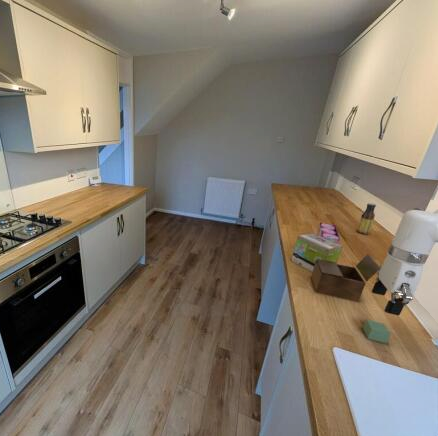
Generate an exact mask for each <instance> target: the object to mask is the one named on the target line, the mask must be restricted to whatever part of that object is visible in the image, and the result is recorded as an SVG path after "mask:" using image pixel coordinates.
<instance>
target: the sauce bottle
mask: <svg viewBox="0 0 438 436" xmlns="http://www.w3.org/2000/svg"><path fill="white" fill-rule="evenodd" d="M376 207H377V204H376V203H369V202H368V203H367V204H366V208H365V210H364V211H363V213H362V214H361V216H360V219H359V222H358V226H357V231H356V232H357V233H359V234H361V235H369V234H370V232H371V229H372V226H373V223H374V220H375V216H376V214H375V208H376Z"/></svg>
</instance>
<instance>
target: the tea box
mask: <svg viewBox="0 0 438 436" xmlns="http://www.w3.org/2000/svg"><path fill="white" fill-rule="evenodd" d="M342 250H343V245H341V244H340V243H339V244H337V243H334V242H332V241H329V240H327V239H325V238H322V237H320V236H317V235H316V234H315V233H312V232H311V233H305V234H300V235H297V238H296V240H295V245H294V248H293V252H292V257H291V261H292V262H293V263H295V264H297V265H299V266H300V267H302V268H304V269H306V270H308V271H309V272H311V273H312V272H313V269H314V265H315V262H316V260H317V259H321V260H326V261H331V262H336V264H338V262H339V258H340V256H341V252H342Z"/></svg>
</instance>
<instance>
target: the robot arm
mask: <svg viewBox="0 0 438 436" xmlns="http://www.w3.org/2000/svg"><path fill="white" fill-rule="evenodd" d="M436 243H438V209H436V210H435V211H433V212H432V211H427V210H420V209H410V210H408V211H407V210H406V212H405V213H404V214H403V215H402V218H401V220H400V222H399V224H398V227H397V230H396V232H395V234H394V236H393V239H392V241H391V243H390V245H389V248H388V250H387V253H386V257H385V259H384V261H383V263H382V264H381V265H379V267H380V269H379V271H378V272H377V277H376V278H375V282H374V284H373V287H372V289H371V293H372V294H375V295H380V296H385V295H386V294H387V291H389V293H390V299H389V300H387V303H386V305H385V308H384V310H383V311H384V312H385V313H387V314H391V315H394V316H400V315H401V313H402V311H403V309H404V307H405V306H407V305H408V304H409V303H410V302H411V301H413V299H414V297H413V296H414V295H415V293H416V291H417V289H418V286H419V284H420V281H421V279H422V275H423V272H424V265H425V264H426V262H427V260H428V258H429V256H430V254H431V253H432V250H433V249H434V246H435V244H436ZM397 296H401V297H398V298H397Z"/></svg>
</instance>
